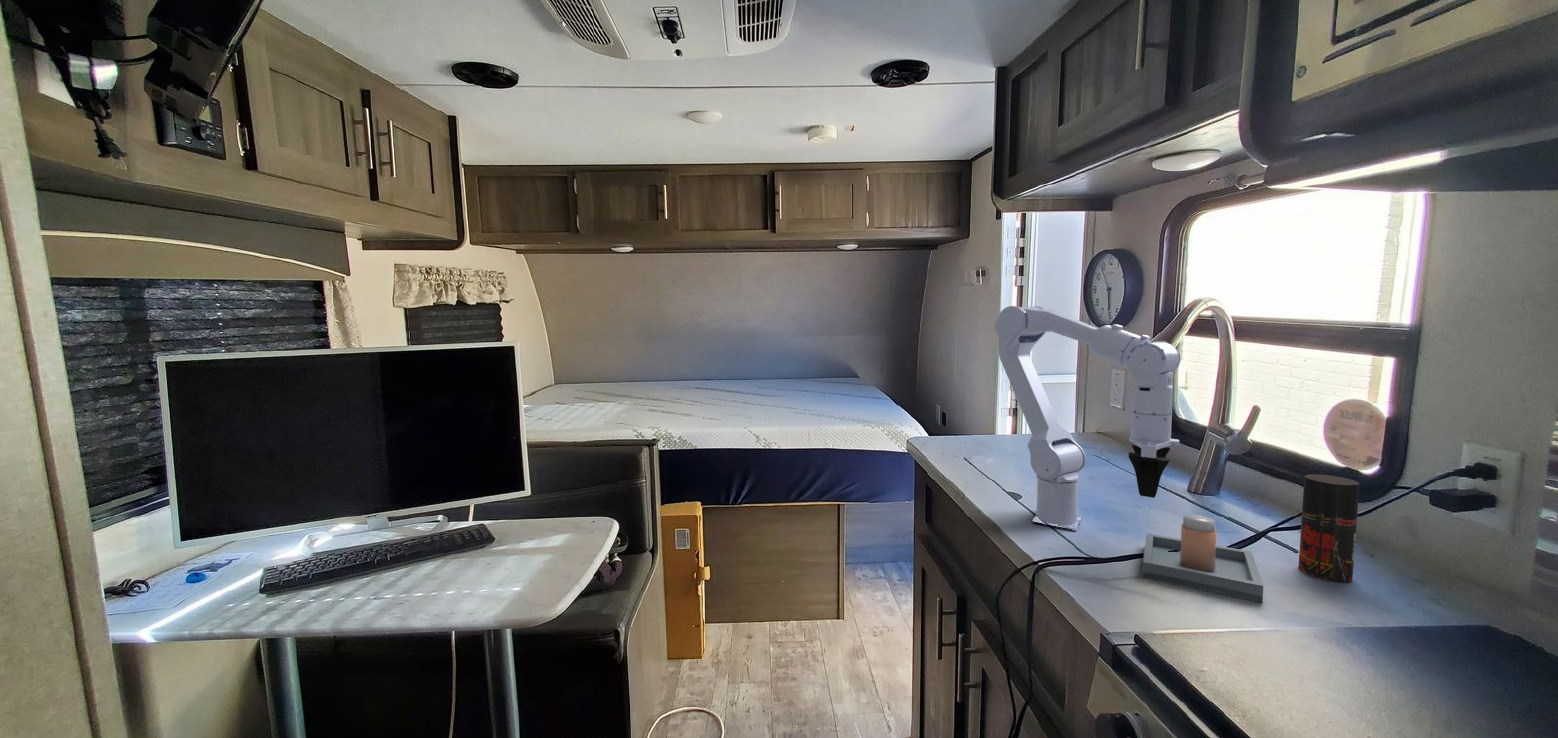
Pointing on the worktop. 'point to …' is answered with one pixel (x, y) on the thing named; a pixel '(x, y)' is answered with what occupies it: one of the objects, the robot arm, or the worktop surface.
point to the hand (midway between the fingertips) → (1148, 490)
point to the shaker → (1198, 543)
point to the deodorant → (1328, 527)
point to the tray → (1228, 578)
